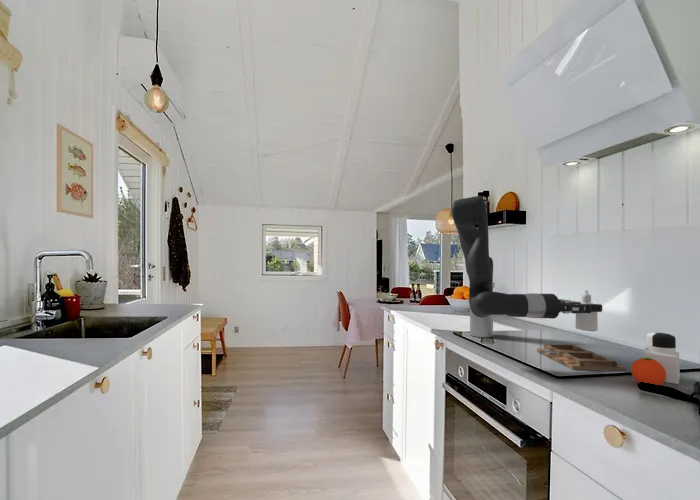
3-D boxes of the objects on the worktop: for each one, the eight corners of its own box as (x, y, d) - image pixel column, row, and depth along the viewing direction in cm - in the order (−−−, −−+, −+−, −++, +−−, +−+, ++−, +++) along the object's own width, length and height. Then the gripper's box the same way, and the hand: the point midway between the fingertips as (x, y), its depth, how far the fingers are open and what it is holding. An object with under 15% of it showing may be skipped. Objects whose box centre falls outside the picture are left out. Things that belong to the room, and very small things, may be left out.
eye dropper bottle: (587, 328, 115) (587, 289, 116) (599, 331, 110) (599, 291, 110) (573, 328, 115) (573, 289, 116) (585, 331, 110) (585, 291, 110)
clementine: (628, 379, 99) (628, 352, 99) (662, 383, 95) (661, 355, 96) (633, 387, 92) (633, 358, 92) (669, 392, 89) (669, 362, 89)
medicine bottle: (679, 378, 100) (678, 333, 100) (678, 384, 94) (677, 337, 95) (645, 372, 104) (645, 330, 105) (643, 378, 99) (642, 333, 100)
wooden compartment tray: (536, 351, 129) (536, 344, 129) (580, 351, 129) (580, 344, 129) (572, 369, 107) (572, 361, 107) (625, 370, 107) (625, 361, 107)
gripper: (550, 295, 106) (610, 296, 106) (528, 291, 121) (581, 292, 120) (550, 321, 106) (610, 323, 105) (528, 314, 120) (581, 315, 120)
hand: (594, 306), depth 113 cm, fingers closed on eye dropper bottle, 5 cm apart
